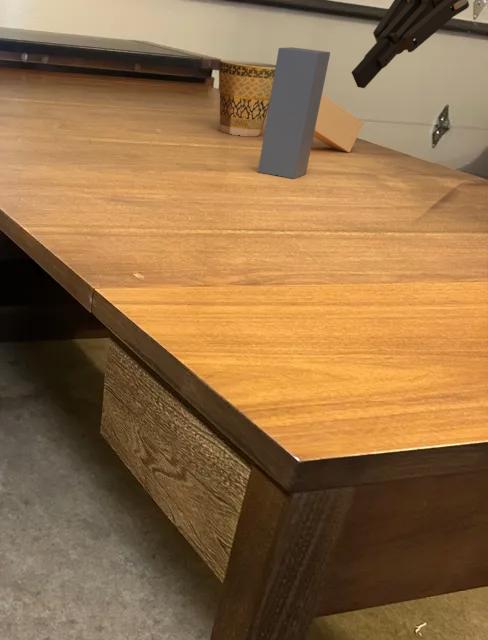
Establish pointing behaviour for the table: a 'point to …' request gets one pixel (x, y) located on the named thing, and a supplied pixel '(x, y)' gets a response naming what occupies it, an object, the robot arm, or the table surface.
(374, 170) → the table surface
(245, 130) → the ceramic cup
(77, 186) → the table surface
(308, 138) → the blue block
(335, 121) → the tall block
